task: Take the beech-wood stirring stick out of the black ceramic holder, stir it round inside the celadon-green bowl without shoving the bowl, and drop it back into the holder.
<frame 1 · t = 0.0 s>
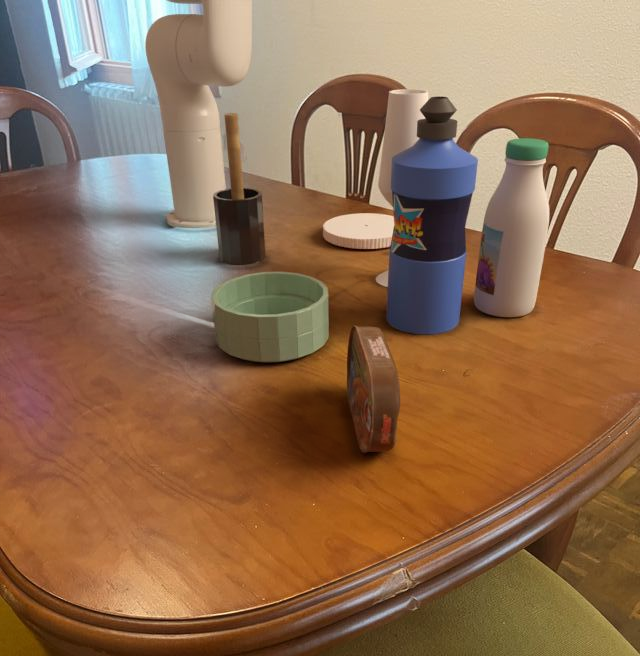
holder: (243, 260, 101), on the table
tin: (369, 425, 63), on the table
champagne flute: (398, 280, 94), on the table
milk bottle: (503, 308, 85), on the table
water bottle: (422, 320, 82), on the table
bowl: (273, 340, 78), on the table
plastic lid: (365, 242, 108), on the table
stick: (242, 256, 101), point 1 cm above the table, touching holder
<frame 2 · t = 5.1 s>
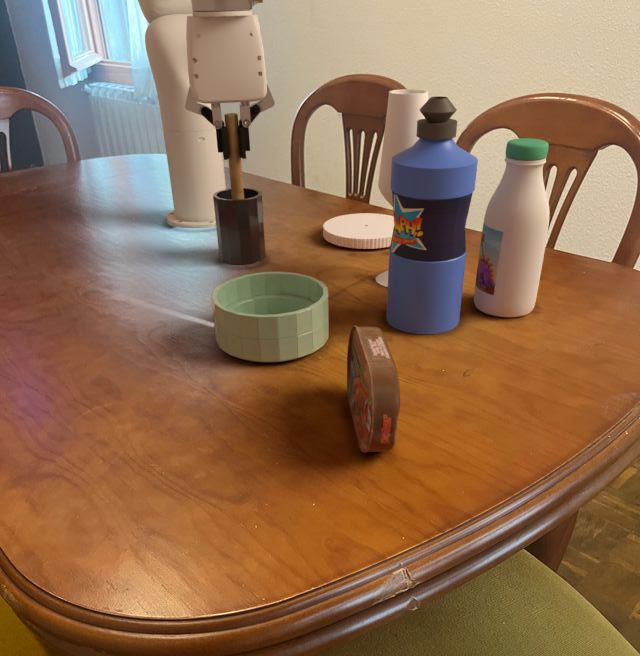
hand: (234, 156, 93), 15 cm above the table, tool pointing down, fingers closed on stick, 1 cm apart
stick: (242, 256, 101), point 1 cm above the table, touching gripper
everything else where it was.
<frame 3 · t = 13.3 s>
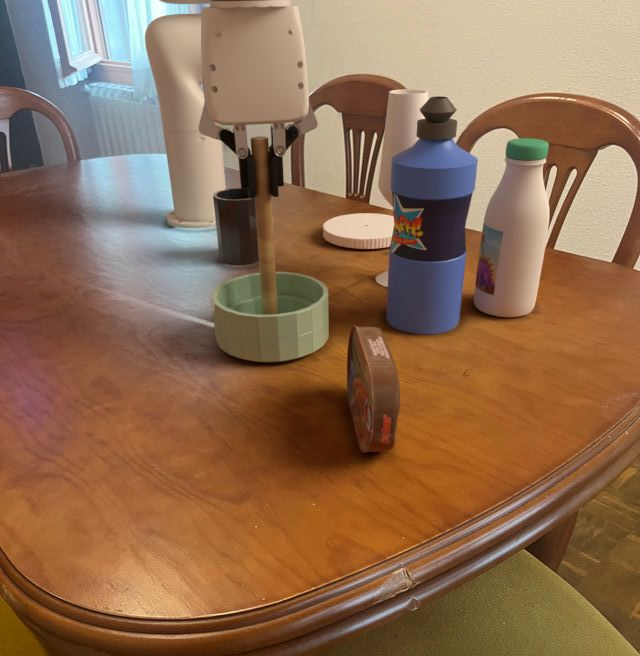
hand: (262, 193, 70), 17 cm above the table, tool pointing down, fingers closed on stick, 1 cm apart
stick: (270, 317, 78), point 2 cm above the table, touching gripper
everything else where it was.
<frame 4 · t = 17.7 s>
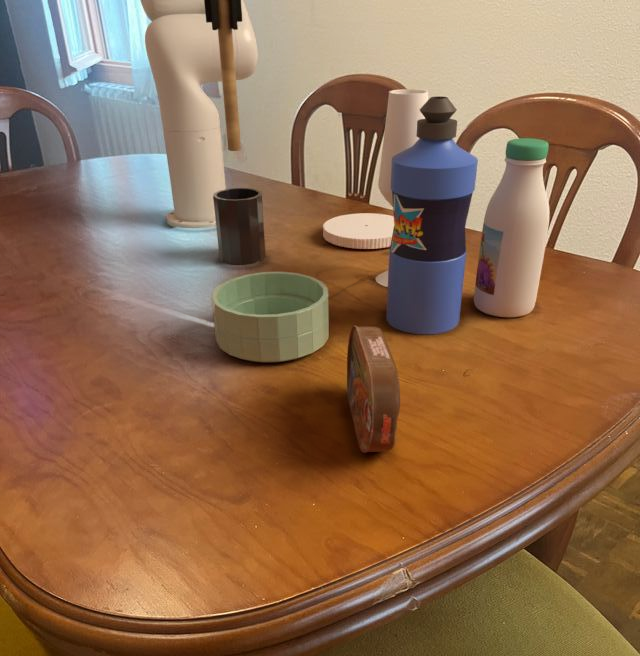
hand: (224, 28, 83), 31 cm above the table, tool pointing down, fingers closed on stick
stick: (234, 149, 91), point 16 cm above the table, touching gripper
everything else where it was.
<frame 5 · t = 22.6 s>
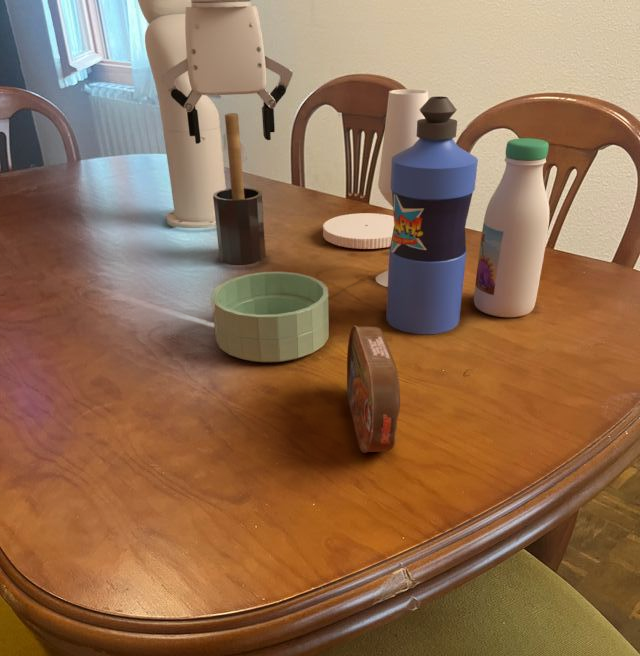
hand: (232, 140, 92), 17 cm above the table, tool pointing down, fingers open, 9 cm apart
stick: (243, 257, 101), point 1 cm above the table, touching holder
everything else where it was.
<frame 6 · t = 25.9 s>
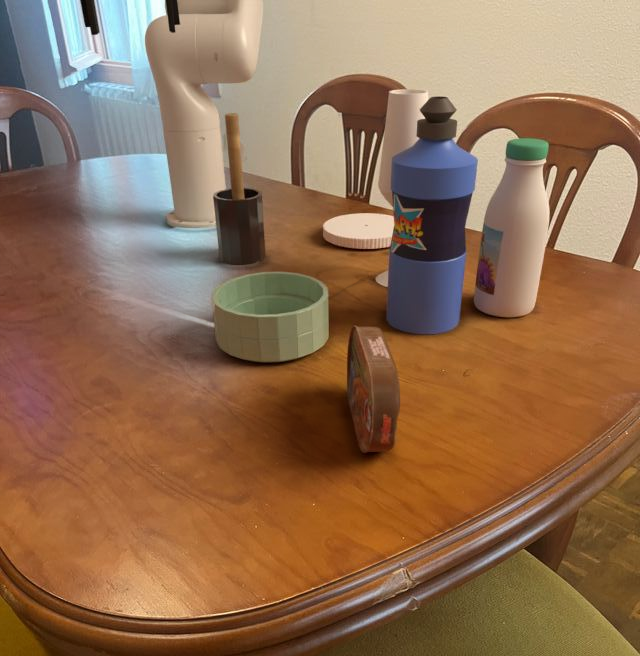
hand: (134, 33, 84), 30 cm above the table, tool pointing down, fingers open, 9 cm apart
nothing on the table moved.
at the end: stick 0.2 cm off-centre in the holder, point 0.6 cm above the holder's base; bowl moved 0.0 cm from its start; the gripper is holding nothing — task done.
